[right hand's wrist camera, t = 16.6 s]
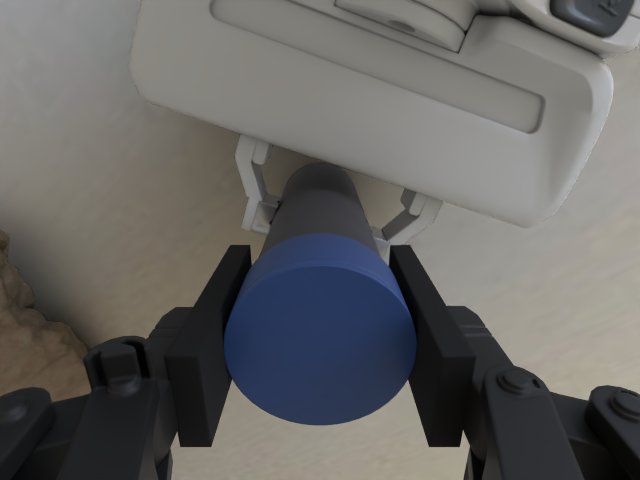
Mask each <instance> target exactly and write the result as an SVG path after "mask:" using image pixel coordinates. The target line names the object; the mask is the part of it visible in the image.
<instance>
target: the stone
mask: <svg viewBox="0 0 640 480" xmlns="http://www.w3.org/2000/svg"><path fill="white" fill-rule="evenodd" d="M9 239H10V238H9V234H7V233H5V232H3V231H2V230H0V396H2V395H4V394H7V393H9V392H12V391H15V390H18V389H22V388H29V387H38V388H44V389H45V390H47V391H48V392H49V393H50V396H51V399H52V402H56V401H60V400H65V399H69V398H74V397H78V396H82V395H86V394H89V393H91V387H90V384H89V380H88V376H87V373H86V369H85V366H84V362H83V358H84V357H85V356H86V355H87V353H88V351H87V349H86V345H85V344H84V343H82V342H81V341H80V340H79V339H78V338H77V336H76V335H75V334H74V332H73V331H72V328H71V327H70V326H69V325H67V324H64V323H62V322H59V321H58V322H51V321H47V320H46V319H45V317H44V316H43V315H42V314H41V313H40V312H39V311H37V310H35V309H29V308H31V307H32V306H34V304H35V302H36V300H35V297H34V294H33V291H32V289H31V288H30V287H29V286H28V284H26V283H24V282H23V281H22V276H21V275H20V273H19V270H18V269H17V268H15V267H13V266H11V265H10V264H9V262H8V260H7V257H8V245H9Z"/></svg>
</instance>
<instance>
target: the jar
mask: <svg viewBox="0 0 640 480" xmlns="http://www.w3.org/2000/svg"><path fill="white" fill-rule="evenodd" d="M313 233H327V234H335V235H340V236H344V237H348V238H351V239H353V240H356V241H358V242H360V243H362V244H364V245H365V246H367V247H369V248H370V249H372V250H373V251H374V252H376V253H377V254H378V255H379V256H380V253H379V250H378V248H377V245H376V242H375V240H374V237H373V235H372V232H371V229H370V227H369V224H368V221H367V219H366V216H365V213H364V211H363V208H362V206H361V203H360V200H359V198H358V195H357V192H356V190H355V187H354V185H353V183H352V181H351V179H350V178H349V176H348V175H347V174H346V173H345V172H344V171H342V170H341V169H339V168H338V167H336V166H333V165H330V164H325V163H315V164H310V165H307V166H304V167H302V168H301V169H299V170H298V171H296V172H295V173H294V174H293V175H292V176H291V178H290V179H289V181H288V182H287V184H286V187H285V190H284V192H283V195H282V198H281V200H280V203H279V206H278V209H277V212H276V214H275V217H274V219H273V221H272V224H271V227H270V229H269V232H268V235H267V237H266V240H265V243H264V245H263V248H262V251H261V253H260V256H261V255H262V254H263V253H265V252H266V251H267V250H269V249H270V248H271V247H273V246H275V245H277V244H278V243H280V242H282V241H285V240H287V239H290V238H292V237H296V236H300V235H305V234H313ZM260 256H259V257H260ZM380 257H381V256H380Z"/></svg>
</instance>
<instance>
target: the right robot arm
mask: <svg viewBox="0 0 640 480" xmlns="http://www.w3.org/2000/svg"><path fill="white" fill-rule="evenodd" d="M251 267H252V264H251V251H250V245H230V247H229V248H228V250H227V252H226V253H225V255H224V257H223V258H222V260H221V262H220V263H219V265H218V267H217V268H216V270H215V272H214V273H213V275H212V277H211V278H210V280H209V282H208V283H207V285H206V287H205V288H204V290H203V292H202V293H201V295H200V297H199V298H198V300H197V302H196V303H195V305H194V307H175V308H174V309H173V310H171V311H170V312H168V313H167V314H165V315H164V316H163V317H162V318H161V319H160V321H159V322H158V324H157V325H156V326H155V329H153V331H152V332H151V333H150V335H149V338H147V339H145V338H143V337H138V336H122V337H118V338H114V339H110V340H108V341H106V342H104V343H101V344H99V345H98V346H96V347H95V348H93V349H92V350H90V351H89V352H88V353H87V355H86V356H85V357H84V358H83V362H84V366H85V369H86V373H87V376H88V380H89V384H90V387H91V393H89V394H86V395H82V396H78V397H74V398H69V399H65V400H60V401H56V402H52V399H51V396H50V393H49V392H48V391H47V390H45V389H44V388H38V387H29V388H22V389H18V390H15V391H12V392H9V393H7V394H4V395H2V396H0V480H171V475H172V464H173V460H172V454H171V449H170V447H171V444H172V442H173V440H174V437H175V435H176V433H177V431H178V436H179V442H180V447H211V446H212V442H213V439H214V436H215V433H216V430H217V426H218V423H219V420H220V417H221V413H222V410H223V407H224V404H225V400H226V397H227V394H228V391H229V388H230V384H231V381H232V378H231V375H230V373H229V371H228V369H227V365H226V362H225V355H224V345H223V339H224V332H225V327H226V324H227V321H228V319H229V316H230V314H231V311H232V309H233V306H234V304H235V301H236V299H237V296H238V294H239V292H240V289H241V287H242V284H243V282H244V279H245V277H246V275H247V273H248V271H249V270H250V268H251ZM389 268H390V269H391V271H392V273H393V275H394V276H395V279H396V281H397V283H398V286H399V288H400V291H401V293H402V296H403V298H404V300H405V303H406V305H407V308H408V310H409V312H410V315H411V317H412V320H413V323H414V326H415V330H416V335H417V347H416V356H415V363H414V366H413V369H412V372H411V374H410V376H409V378H408V380H409V384H410V387H411V390H412V393H413V397H414V400H415V403H416V406H417V410H418V413H419V416H420V419H421V422H422V426H423V429H424V432H425V435H426V439H427V442H428V445H429V447H460V443H461V438H462V432H463V430H464V433H465V435H466V437H467V440H468V442H469V444H470V449H469V454H468V459H467V464H466V469H465V474H464V480H640V394H638V393H636V392H633V391H631V390H627V389H624V388H621V387H615V386H608V385H606V386H598V387H596V388H595V389H594V390H592V391H591V394H590V397H589V400H588V401H587V400H582V399H578V398H573V397H569V396H564V395H560V394H556V393H553V392H550V391H549V390H548V388H547V387H546V385H545V384H544V382H543V381H542V380H541V379H539V378H538V377H537V376H536V375H534V374H533V373H531V372H529V371H527V370H525V369H523V368H520V367H516V366H514V365H513V364H512V362H511V361H510V359H509V358H508V357H507V355H506V354H505V353H504V351H503V350H502V348H501V347H500V346H499V344H498V343H497V341H496V340H495V339H494V337H492V334H491V333H490V332H489V330H488V329H487V328H485V325H484V323H483V322H482V320H481V319H480V318H479V316H478V315H477V314H475V313H474V312H472V311H471V310H470V309H468V308H467V307H465V306H446V305H445V303H444V301H443V300H442V298H441V296H440V295H439V293H438V291H437V290H436V288H435V286H434V285H433V283H432V281H431V280H430V278H429V276H428V275H427V273H426V271H425V270H424V268H423V266H422V265H421V263H420V261H419V260H418V258H417V256H416V255H415V253H414V251H413V250H412V248H411V246H410V245H390V253H389Z"/></svg>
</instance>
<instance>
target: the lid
mask: <svg viewBox="0 0 640 480" xmlns="http://www.w3.org/2000/svg"><path fill="white" fill-rule="evenodd" d="M223 345H224V355H225V362H226V365H227V369H228V371H229V373H230V375H231V378H232V379H233V381H234V382H235V384H236V386H237V387H238V388H239V389H240V391H241V392H242V393H243V394H244V395H245V396H246V397H247V398H248V399H249V400H250V401H251V402H252V403H254V404H255V405H256V406H258V407H259V408H261V409H262V410H264V411H266V412H268V413H269V414H271V415H274V416H276V417H278V418H281V419H284V420H287V421H290V422H295V423H300V424H307V425H334V424H340V423H345V422H350V421H353V420H356V419H359V418H362V417H364V416H366V415H369V414H371V413H373V412H374V411H376V410H378V409H380V408H381V407H382V406H384V405H385V404H387V403H388V402H389V401H390V400H391V399H392V398H393V397H394V396H396V395H397V393H398V392H399V391H400V390H401V389H402V387H403V386H404V384H405V383H406V381H407V380H408V378H409V376H410V374H411V372H412V369H413V366H414V363H415V356H416V347H417V335H416V330H415V326H414V323H413V320H412V317H411V315H410V312H409V310H408V308H407V305H406V303H405V300H404V298H403V296H402V293H401V291H400V288H399V286H398V283H397V281H396V279H395V276H394V275H393V273H392V271H391V269H390V268H389V266H388V265H387V264H386V262H385V261H384V260H383V259H382V258H381V257H380V256H379V255H378V254H377V253H376V252H374V251H373V250H372V249H370V248H369V247H367V246H365V245H364V244H362V243H360V242H358V241H356V240H353V239H351V238H348V237H344V236H340V235H335V234H327V233H313V234H305V235H300V236H296V237H292V238H290V239H287V240H285V241H282V242H280V243H278V244H277V245H275V246H273V247H271V248H270V249H269V250H267V251H266V252H265V253H263V254H262V255H261V256H260V257H259V258H258V259H257V260H256V262H255V263H254V264H253V265H252V267H251V268H250V270H249V271H248V273H247V275H246V277H245V279H244V282H243V284H242V287H241V289H240V292H239V294H238V296H237V299H236V301H235V304H234V306H233V309H232V311H231V314H230V316H229V319H228V321H227V324H226V327H225V332H224V339H223Z"/></svg>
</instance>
